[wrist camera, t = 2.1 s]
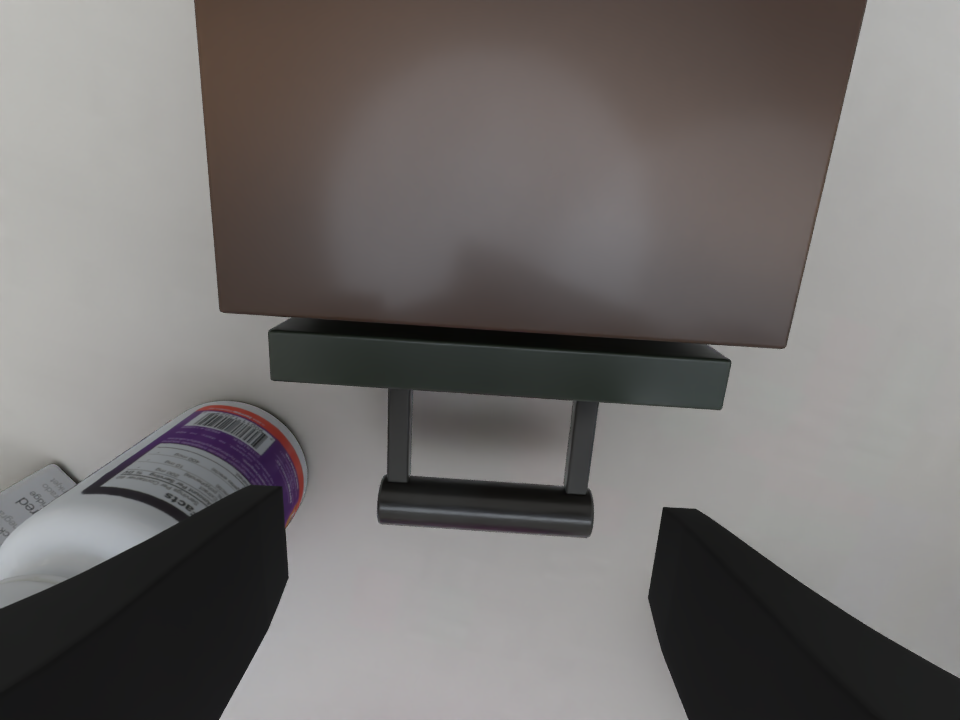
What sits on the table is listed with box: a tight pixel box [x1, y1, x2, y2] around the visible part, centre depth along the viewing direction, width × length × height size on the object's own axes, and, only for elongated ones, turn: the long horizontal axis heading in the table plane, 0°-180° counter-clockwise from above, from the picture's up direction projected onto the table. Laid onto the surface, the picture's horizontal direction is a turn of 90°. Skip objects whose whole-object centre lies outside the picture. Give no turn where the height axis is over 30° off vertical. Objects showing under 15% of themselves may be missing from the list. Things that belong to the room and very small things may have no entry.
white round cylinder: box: [0, 401, 307, 609], centre depth 15 cm, size 5×5×10 cm
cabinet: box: [194, 0, 867, 349], centre depth 12 cm, size 13×11×7 cm
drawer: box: [268, 317, 731, 538], centre depth 13 cm, size 17×10×5 cm, turn 177°
